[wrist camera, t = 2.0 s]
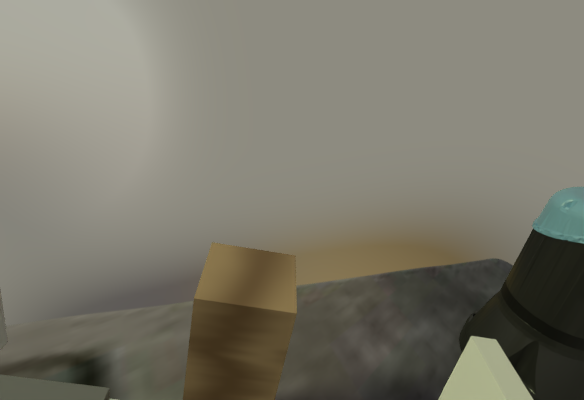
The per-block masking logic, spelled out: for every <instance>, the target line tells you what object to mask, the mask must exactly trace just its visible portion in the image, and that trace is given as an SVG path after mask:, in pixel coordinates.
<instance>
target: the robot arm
mask: <svg viewBox="0 0 584 400" xmlns="http://www.w3.org/2000/svg"><path fill="white" fill-rule="evenodd" d="M459 341H460V347H461V351H462V355H461V357H460V358H459V360H458V362H457V364H456V366H455V368H454V370H453V372H452V374H451V376H450V378H449V380H448V382H447V383H446V385H445V387H444V389H443V391H442V393H441V395H440V397H439V399H438V400H584V187H572V188H566V189H563V190H560V191H558V192H557V193H555V194H554V195H553V196H552V197H551V198H550V199H549V201H548V203H547V204H546V206H545V208H544V209H543V211H542V213H541V214H540V216H539V217H538V218H537V219H536V220H535V221H534V222H533V230H532V232H531V234H530V236H529V238H528V239H527V241H526V243H525V245H524V247H523V249H522V251H521V253H520V255H519V256H518V258H517V260H516V262H515V263H514V265H513V267H512V269H511V271H510V273H509V275H508V276H507V278H506V280H505V282H504V284H503V286H502V288H501V290H500V291H499V292H498V293H497V294H496V295H494V296H493V297H492V298H491V299H490V300H489V301H488V302H487V303H486V304H485V305H484V306H483V307H482V308H481V309H479V310H477V311H475V312H474V313H473V314H472V315H471V316H470V317H469V318H468V319H467V321H466V323H465V325H464V327H463V329H462V331H461V333H460V339H459ZM7 342H8V340H7V333H6V326H5V319H4V312H3V305H2V298H1V291H0V350H1V349H2V348H3V347H4V346H5V344H6V343H7Z"/></svg>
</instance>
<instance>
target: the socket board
mask: <svg viewBox="0 0 584 400" xmlns="http://www.w3.org/2000/svg"><path fill="white" fill-rule="evenodd" d="M0 400H116V399H109V388H104V387H96V386H88V385H80V384H72V383H64V382H56V381H48V380H40V379H32V378H24V377H16V376H8V375H0Z"/></svg>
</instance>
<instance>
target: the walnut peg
mask: <svg viewBox="0 0 584 400" xmlns="http://www.w3.org/2000/svg"><path fill="white" fill-rule="evenodd" d="M295 262H296V260H295V256H294V255H288V254H282V253H275V252H269V251H263V250H257V249H250V248H243V247H237V246H231V245H225V244H218V243H212V245H211V248H210V251H209V254H208V257H207V261H206V263H205V266H204V269H203V272H202V276H201V279H200V282H199V285H198V288H197V291H196V294H195V297H194V304H193V313H192V322H191V331H190V340H189V350H188V359H187V368H186V377H185V386H184V395H183V400H275V396H276V392H277V388H278V384H279V381H280V377H281V373H282V369H283V365H284V361H285V357H286V353H287V349H288V345H289V342H290V338H291V334H292V330H293V326H294V322H295V318H296V314H297V303H296V263H295Z"/></svg>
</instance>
